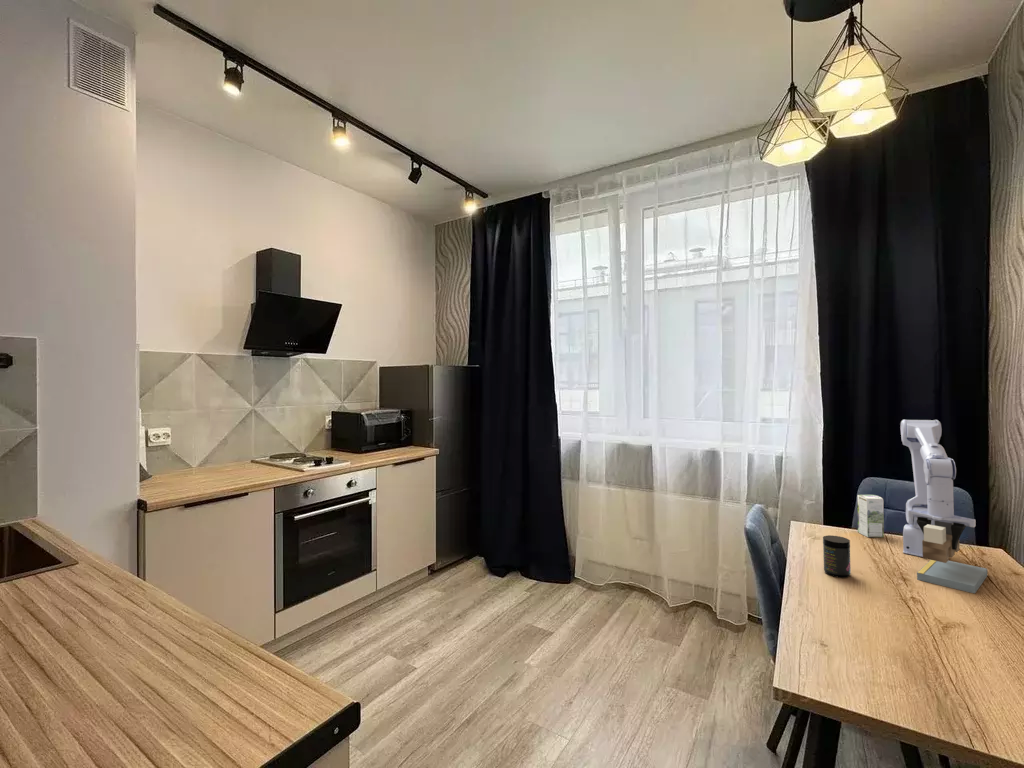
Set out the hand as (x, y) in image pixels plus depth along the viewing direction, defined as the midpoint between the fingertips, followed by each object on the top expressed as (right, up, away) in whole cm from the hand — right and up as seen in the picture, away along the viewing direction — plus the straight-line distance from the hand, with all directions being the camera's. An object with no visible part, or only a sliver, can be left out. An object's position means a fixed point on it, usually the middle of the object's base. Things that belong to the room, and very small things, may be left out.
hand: (941, 546), depth 139 cm
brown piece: (0, -2, 0) cm, 2 cm away
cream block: (-5, +3, -3) cm, 7 cm away
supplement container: (-29, -9, +3) cm, 30 cm away
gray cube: (+5, +3, +4) cm, 7 cm away
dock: (+1, -8, -2) cm, 9 cm away
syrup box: (+7, -9, +36) cm, 38 cm away
